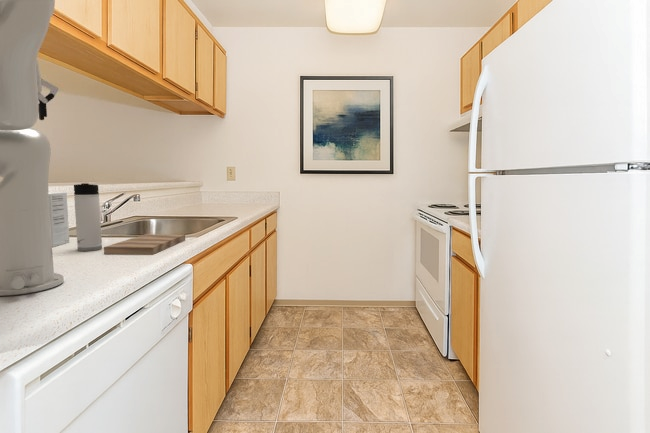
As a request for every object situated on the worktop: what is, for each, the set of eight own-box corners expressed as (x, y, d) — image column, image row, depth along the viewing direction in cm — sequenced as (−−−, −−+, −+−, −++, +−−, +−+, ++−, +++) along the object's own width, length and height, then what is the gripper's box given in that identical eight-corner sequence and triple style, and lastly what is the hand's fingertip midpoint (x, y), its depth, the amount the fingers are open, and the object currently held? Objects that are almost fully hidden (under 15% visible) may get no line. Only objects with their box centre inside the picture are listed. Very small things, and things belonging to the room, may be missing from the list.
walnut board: (153, 254, 106) (152, 247, 106) (104, 254, 106) (103, 247, 106) (185, 240, 130) (185, 234, 130) (145, 239, 130) (145, 234, 130)
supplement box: (20, 247, 115) (16, 193, 113) (39, 242, 124) (35, 191, 122) (54, 247, 116) (50, 193, 114) (70, 242, 125) (67, 191, 123)
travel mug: (76, 252, 108) (71, 183, 106) (79, 248, 114) (74, 183, 112) (101, 250, 111) (97, 183, 109) (102, 246, 117) (99, 183, 115)
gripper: (-40, 30, 80) (-32, 111, 82) (57, 49, 92) (62, 120, 94) (-39, 39, 86) (-32, 115, 88) (53, 55, 98) (57, 122, 100)
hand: (17, 117), depth 91 cm, fingers open, 9 cm apart
